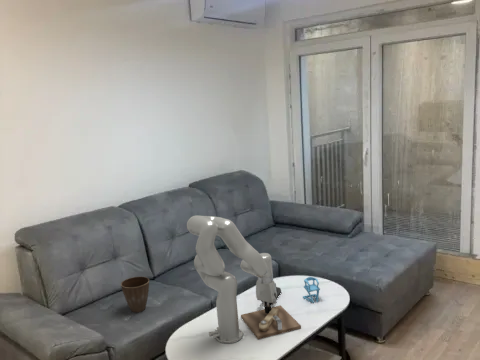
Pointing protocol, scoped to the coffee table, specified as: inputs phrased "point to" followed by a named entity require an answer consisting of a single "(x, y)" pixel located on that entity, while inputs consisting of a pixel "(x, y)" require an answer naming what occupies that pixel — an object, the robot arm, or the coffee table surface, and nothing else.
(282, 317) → the walnut board
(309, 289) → the chair
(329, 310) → the coffee table surface
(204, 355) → the coffee table surface
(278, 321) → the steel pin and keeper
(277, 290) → the zipper pull
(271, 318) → the link
